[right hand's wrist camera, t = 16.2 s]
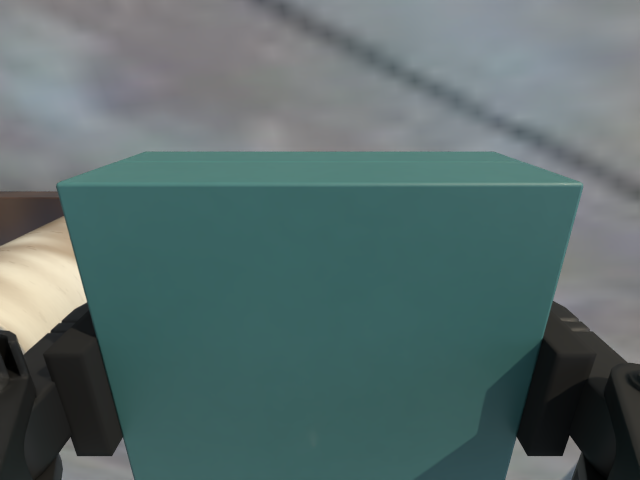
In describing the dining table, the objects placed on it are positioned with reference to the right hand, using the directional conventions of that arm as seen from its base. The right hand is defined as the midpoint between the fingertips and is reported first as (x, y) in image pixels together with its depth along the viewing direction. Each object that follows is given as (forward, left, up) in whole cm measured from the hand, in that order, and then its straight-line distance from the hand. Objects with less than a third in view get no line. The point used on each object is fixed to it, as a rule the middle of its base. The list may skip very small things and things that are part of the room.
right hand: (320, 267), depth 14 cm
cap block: (0, 0, +3) cm, 3 cm away
